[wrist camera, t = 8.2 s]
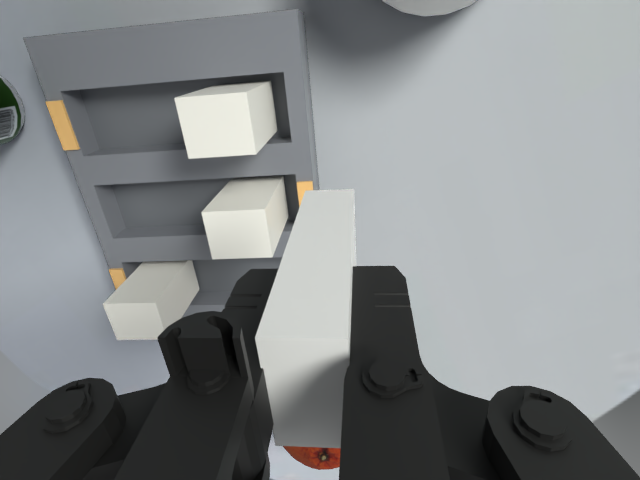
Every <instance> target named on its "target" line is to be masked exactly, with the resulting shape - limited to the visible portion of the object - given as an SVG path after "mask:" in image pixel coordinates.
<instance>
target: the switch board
mask: <svg viewBox="0 0 640 480" xmlns="http://www.w3.org/2000/svg"><path fill="white" fill-rule="evenodd" d="M23 39H24V42H25V44H26V47H27V50H28V52H29V55H30V58H31V60H32V63H33V66H34V68H35V71H36V74H37V76H38V79H39V82H40V84H41V87H42V90H43V92H44V95H45V98H46V100H47V101H46V105H47V107H48V110H49V113H50V115H51V118H52V121H53V123H54V126H55V129H56V131H57V134H58V137H59V139H60V142H61V145H62V147H63V150H65V151H66V154H67V156H68V159H69V162H70V164H71V167H72V170H73V172H74V175H75V178H76V180H77V183H78V186H79V188H80V191H81V194H82V196H83V199H84V202H85V204H86V207H87V210H88V212H89V215H90V218H91V220H92V223H93V226H94V228H95V231H96V234H97V236H98V239H99V242H100V244H101V247H102V250H103V252H104V255H105V258H106V260H107V263H108V266H109V268H110V269H109V272H110V275H111V277H112V280H113V283H114V285H115V288H116V289H117V288H118V287H119V286H120V285H121V284H122V283H123V282H124V281H125V280H126V279H127V278H128V277H129V276H130V275H131V274H132V273H133V272H134V271H135V270H136V269H137V268H138V267H139V266H140V265H141V264H142V263H143V262H152V261H183V260H192V262H193V266H194V270H195V273H196V277H197V281H198V285H199V291H198V292H197V294H196V296H195V297H194V299H193V300H192V302H191V304H190V305H189V307H188V308H187V310H186V311H185V313H184V315H183V316H182V318H183V317H186V316H189V315H192V314H194V313H198V312H207V311H217V312H222V310H223V309H225V304H226V302H227V300H228V298H229V297H230V294H231V292H232V290H233V288H234V286H235V284H236V282H237V280H238V279H240V278H241V277H242V276H243V275H244V274H245V273H247V272H248V271H249V270H250V269H279V266H280V263H281V260H282V257H283V254H284V251H285V248H286V245H287V243H288V240H289V237H290V234H291V231H292V228H293V225H294V222H295V219H296V216H297V213H298V210H299V207H300V205H301V202H302V199H303V196H304V193H305V191H308V190H319V179H318V168H317V157H316V145H315V134H314V123H313V112H312V100H311V89H310V78H309V67H308V55H307V44H306V33H305V21H304V12H302V11H300V10H298V9H292V10H282V11H273V12H263V13H253V14H244V15H234V16H225V17H215V18H206V19H196V20H186V21H177V22H167V23H158V24H148V25H139V26H129V27H120V28H110V29H100V30H91V31H81V32H72V33H62V34H53V35H43V36H34V37H24V38H23ZM261 81H271V85H272V92H273V100H274V108H275V115H276V123H277V132H276V133H275V134H274V135H273V136H272V137H271V138H270V140H269V141H268V142H267V143H266V144H265V145H264V146H263V147H262V149H261V150H260V151H259V152H258V153H257V154H256V155H241V156H225V157H209V158H193V159H188V154H187V150H186V146H185V142H184V137H183V133H182V129H181V125H180V120H179V116H178V112H177V108H176V104H175V99H174V98H175V97H179V96H182V95H185V94H188V93H191V92H195V91H198V90H201V89H204V88H207V87H211V86H214V85H225V84H237V83H249V82H261ZM265 176H283V177H284V185H285V193H286V200H287V208H288V219H287V221H286V224H285V227H284V229H283V232H282V234H281V237H280V239H279V242H278V244H277V247H276V250H275V252H274V255H273V257H270V258H239V259H212V256H211V252H210V247H209V243H208V239H207V235H206V230H205V226H204V222H203V218H202V213H201V212H202V211H203V210H204V209H205V207H206V206H207V205H208V204H209V203H210V202H211V201H212V200H213V199H214V198H215V196H216V195H217V194H218V193H219V192H220V191H221V190H222V189H223V188H224V187H225V185H226V184H227V183H228V182H229V181H230V180H231V179H232V178H247V177H265Z"/></svg>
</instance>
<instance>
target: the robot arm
mask: <svg viewBox="0 0 640 480" xmlns="http://www.w3.org/2000/svg"><path fill="white" fill-rule="evenodd" d="M157 339H158V342H159V345H160V347H161V350H162V353H163V356H164V359H165V362H166V365H167V368H168V371H169V374H170V378H169V379H168V381H167V383H165V384H162V385H159V386H156V387H152V388H148V389H144V390H140V391H136V392H132V393H127V394H123V395H119V396H117V394H116V392H115V389H114V387H113V385H112V384H111V383H109V382H107V381H106V380H104V379H98V378H86V379H82V380H78V381H73V382H71V383H68V384H66V385H64V386H62V387H60V388H58V389H55V390H54V391H52V392H51V393H50V394H48V395H47V396H45V397H44V398H43V399H41V400H40V401H38V402H37V403H36V404H35V405H34V406H33V407H31V408H30V409H29V410H28V411H27V412H26V413H25V414H23V415H22V416H21V417H20V418H19V419H18V420H17V421H15V422H14V423H13V424H12V425H11V426H10V427H9V428H7V429H6V430H5V431H4V432H3V433H2V434H1V435H0V480H269V477H270V462H269V458H268V453H267V452H268V447H269V443H270V438H271V434H272V430H273V435H274V440H275V445H276V446H298V447H322V448H341V450H340V469H339V480H640V477H639V476H638V475H637V474H636V472H635V471H634V470H633V469H632V468H631V467H630V466H629V464H628V463H627V462H626V461H625V460H624V459H623V458H622V456H621V455H620V454H619V453H618V452H617V451H616V450H615V448H614V447H613V446H612V445H611V444H610V443H609V442H608V441H607V439H606V438H605V437H604V436H603V435H602V434H601V433H600V431H599V430H598V429H597V428H596V427H595V426H594V424H593V423H592V422H591V421H590V420H589V419H588V418H587V416H585V415H584V414H583V413H582V412H581V411H580V410H579V409H577V408H576V407H575V406H574V405H573V404H572V403H571V402H569V401H567V400H566V399H564V398H562V397H560V396H558V395H556V394H554V393H552V392H551V391H547V390H543V389H540V388H536V387H532V386H511V387H508V388H506V389H503V390H501V391H498V392H497V393H496V394H495V395H494V397H493V398H492V399H491V400H490V401H488V400H485V399H481V398H478V397H474V396H471V395H467V394H464V393H461V392H458V391H456V390H453V389H450V388H448V387H447V386H445V385H443V384H442V383H440V382H438V381H437V380H436V379H435V378H434V377H433V376H432V375H430V374H429V373H428V371H427V370H426V368H425V367H424V365H423V364H422V361H421V358H420V355H419V350H418V344H417V338H416V333H415V327H414V322H413V316H412V311H411V308H410V300H409V295H408V289H407V283H406V278H405V277H404V276H403V275H402V274H401V272H400V271H399V270H398V269H397V268H396V267H395V266H356V237H355V204H354V189H339V190H308V191H305V193H304V196H303V199H302V202H301V205H300V207H299V210H298V213H297V216H296V219H295V222H294V225H293V228H292V231H291V234H290V237H289V240H288V243H287V245H286V248H285V251H284V254H283V257H282V260H281V263H280V266H279V269H250V270H249V271H248V272H247V273H245V274H244V275H243V276H242V277H241V278H240V279H238V280H237V282H236V284H235V286H234V288H233V290H232V292H231V294H230V297H229V298H228V300H227V302H226V304H225V309H223V310H222V312H217V311H207V312H198V313H194V314H192V315H189V316H186V317H183V318H181V319H179V320H177V321H176V322H174V323H173V324H171V325H169V326H168V327H167V328H166V329H165V330H164V331H163V332H162V333H161V334H160V335H159V336H158V337H157Z"/></svg>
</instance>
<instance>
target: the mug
mask: <svg viewBox="0 0 640 480" xmlns="http://www.w3.org/2000/svg"><path fill="white" fill-rule="evenodd" d="M382 1H383V2H385V3H387V4H388V5H390V6H392V7H394V8H395V9H397V10H399V11H401V12H404V13H409V14H414V15H419V16H424V17H425V16H435V15H445V14H449V13H452V12H454V11H457V10H460V9H462V8H465V7H467V6H470V5H472V4H473V3H474V2H476V1H477V0H382Z"/></svg>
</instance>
